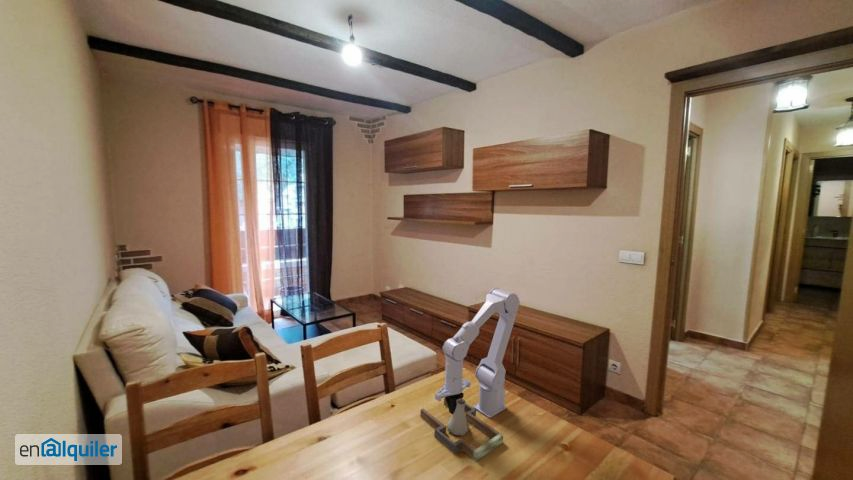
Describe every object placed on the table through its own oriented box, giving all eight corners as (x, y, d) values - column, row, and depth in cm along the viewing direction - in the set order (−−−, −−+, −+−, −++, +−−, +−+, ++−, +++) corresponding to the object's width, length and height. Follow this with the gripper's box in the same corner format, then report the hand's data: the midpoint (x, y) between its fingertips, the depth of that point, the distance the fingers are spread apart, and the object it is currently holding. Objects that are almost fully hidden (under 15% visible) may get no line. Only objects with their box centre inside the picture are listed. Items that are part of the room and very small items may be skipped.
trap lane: (451, 400, 130) (451, 394, 129) (508, 438, 110) (508, 431, 109) (414, 419, 118) (414, 412, 118) (469, 465, 98) (469, 457, 98)
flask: (465, 439, 109) (469, 412, 107) (444, 431, 111) (447, 404, 109) (470, 424, 116) (474, 398, 114) (450, 417, 118) (453, 391, 116)
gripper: (460, 363, 122) (459, 399, 124) (429, 376, 113) (428, 414, 114) (475, 371, 116) (474, 409, 118) (443, 386, 107) (442, 426, 109)
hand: (452, 412), depth 116 cm, fingers closed, pressing on flask
